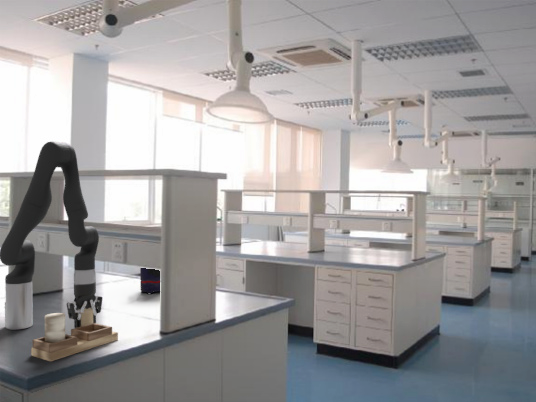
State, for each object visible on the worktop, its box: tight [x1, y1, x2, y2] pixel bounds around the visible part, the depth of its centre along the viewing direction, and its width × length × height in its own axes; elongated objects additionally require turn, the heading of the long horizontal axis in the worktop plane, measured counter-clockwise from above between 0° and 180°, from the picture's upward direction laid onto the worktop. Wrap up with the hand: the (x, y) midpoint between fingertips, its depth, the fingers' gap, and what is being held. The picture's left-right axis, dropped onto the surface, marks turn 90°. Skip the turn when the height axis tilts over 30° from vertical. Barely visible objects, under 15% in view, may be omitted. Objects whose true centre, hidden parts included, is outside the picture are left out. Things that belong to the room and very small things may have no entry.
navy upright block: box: [139, 268, 161, 294], centre depth 254 cm, size 14×12×30 cm
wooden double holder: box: [31, 312, 119, 362], centre depth 164 cm, size 10×26×12 cm, turn 148°
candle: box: [79, 308, 93, 326], centre depth 179 cm, size 6×6×10 cm
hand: (85, 327), depth 179 cm, fingers closed on candle, 5 cm apart
